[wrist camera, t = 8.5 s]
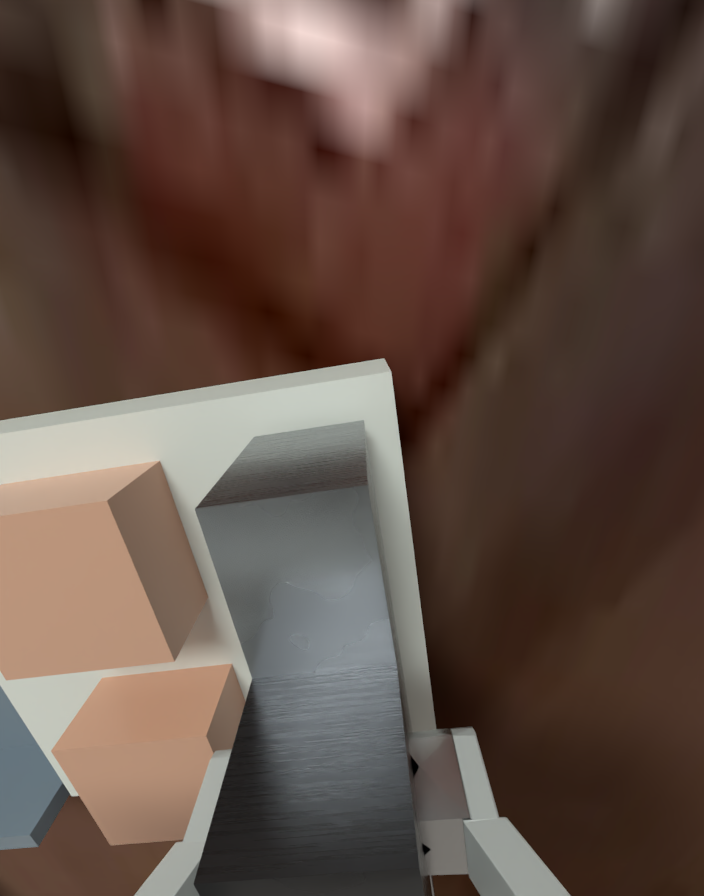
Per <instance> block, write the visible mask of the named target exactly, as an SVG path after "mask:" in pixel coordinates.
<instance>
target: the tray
mask: <svg viewBox="0 0 704 896" xmlns="http://www.w3.org/2000/svg"><path fill="white" fill-rule="evenodd" d="M69 795H70V793H69V791H68V790H67V788H66V787H65V785H64V784H63V782H62V781H61V779H60V777H59V776H58V774H57V773H56V771H55V770H54V768H53V767H52V765H51V764H50V762H49V760H48V759H47V757H46V756H45V754H44V753H43V751H42V750H41V748H40V746H39V745H38V743H37V742H36V740H35V739H34V737H33V736H32V734H31V732H30V731H29V729H28V728H27V726H26V725H25V723H24V722H23V720H22V718H21V717H20V715H19V714H18V712H17V711H16V709H15V708H14V706H13V705H12V703H11V701H10V700H9V698H8V697H7V695H6V694H5V692H4V691H3V689H2V687H1V686H0V850H3V849H16V848H28V847H39V845H40V843H41V842H42V840H43V838H44V837H45V835H46V833H47V832H48V830H49V828H50V826H51V825H52V823H53V821H54V820H55V818H56V816H57V815H58V813H59V811H60V810H61V808H62V806H63V805H64V803H65V801H66V800H67V798H68V796H69Z"/></svg>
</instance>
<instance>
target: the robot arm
mask: <svg viewBox="0 0 704 896" xmlns="http://www.w3.org/2000/svg"><path fill="white" fill-rule="evenodd" d="M408 738H409V746H410V755H411V761H412V767H413V773H414V779H413V780H414V788H415V797H416V805H417V813H418V822H419V828H420V834H421V840H422V843H423V850H424V858H425V863H426V869H427V875H454V874H469V878H470V879H471V881H472V883H473V884H474V886H475V887H476V889H477V891H478V892H479V894H480V896H571V895H570V894H569V893H568V892H567V890H566V889H565V888H564V887H563V885H562V884H561V883H560V882H559V881H558V879H557V878H556V877H555V876H554V874H553V873H552V872H551V871H550V870H549V868H548V867H547V866H546V865H545V863H544V862H543V861H542V860H541V859H540V857H539V856H538V855H537V854H536V852H535V851H534V850H533V849H532V848H531V846H530V845H529V844H528V843H527V841H526V840H525V839H524V838H523V837H522V835H521V834H520V833H519V832H518V830H517V829H516V828H515V827H514V826H513V824H512V823H511V822H510V821H509V819H508V818H507V817H499V815H498V811H497V808H496V804H495V801H494V797H493V793H492V790H491V786H490V783H489V779H488V775H487V772H486V768H485V765H484V761H483V758H482V754H481V750H480V747H479V743H478V740H477V736H476V733H475V731H474V729H473V727H472V726H468V727H459V728H451V729H450V728H444V729H436V730H427V731H418V732H410V733H408ZM231 751H232V749H227V750H218V751H215V752H214V754H213V756H212V757H211V759H210V761H209V764H208V767H207V770H206V773H205V776H204V779H203V782H202V785H201V788H200V791H199V794H198V797H197V800H196V803H195V806H194V809H193V812H192V815H191V818H190V821H189V824H188V827H187V830H186V833H185V836H184V839H183V841H182V842H176V843H175V844H174V846H173V847H172V848H171V849H170V851H169V852H168V853H167V854H166V856H165V857H164V858H163V860H162V861H161V862H160V863H159V865H158V866H157V867H156V868H155V870H154V871H153V872H152V873H151V875H150V876H149V877H148V879H147V880H146V881H145V882H144V884H143V885H142V886H141V887H140V889H139V890H138V891H137V892H136V894H135V895H134V896H200V895H199V894H198V892H197V890H196V888H195V886H194V880H195V877H196V873H197V870H198V866H199V863H200V859H201V856H202V852H203V849H204V845H205V842H206V838H207V835H208V831H209V828H210V824H211V821H212V817H213V814H214V810H215V807H216V803H217V800H218V796H219V793H220V789H221V786H222V782H223V779H224V775H225V772H226V768H227V765H228V761H229V758H230V754H231Z"/></svg>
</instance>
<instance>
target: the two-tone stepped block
mask: <svg viewBox="0 0 704 896" xmlns="http://www.w3.org/2000/svg"><path fill="white" fill-rule="evenodd" d="M195 511H196V514H197V517H198V520H199V523H200V526H201V529H202V532H203V535H204V538H205V541H206V544H207V547H208V550H209V553H210V556H211V559H212V562H213V565H214V567H215V570H216V573H217V576H218V579H219V582H220V585H221V588H222V591H223V594H224V597H225V600H226V603H227V606H228V609H229V612H230V615H231V618H232V621H233V624H234V627H235V630H236V633H237V635H238V638H239V641H240V644H241V647H242V650H243V653H244V656H245V659H246V662H247V665H248V668H249V671H250V674H251V677H252V681H251V684H250V688H249V691H248V695H247V698H246V702H245V705H244V709H243V712H242V716H241V719H240V723H239V726H238V730H237V733H236V737H235V740H234V744H233V747H232V751H231V754H230V758H229V761H228V765H227V768H226V772H225V775H224V779H223V782H222V786H221V789H220V793H219V796H218V800H217V803H216V807H215V810H214V814H213V817H212V821H211V824H210V828H209V831H208V835H207V838H206V842H205V845H204V849H203V852H202V856H201V859H200V863H199V866H198V870H197V873H196V877H195V880H194V886H195V888H196V890H197V892H198V894H199V895H200V896H435V892H434V884H433V877H432V875H427V869H426V863H425V858H424V850H423V843H422V840H421V834H420V828H419V822H418V813H417V805H416V797H415V788H414V780H413V779H414V773H413V767H412V761H411V755H410V746H409V738H408V733H410V732H412V725H411V719H410V713H409V706H408V700H407V693H406V687H405V680H404V674H403V668H402V661H401V655H400V648H399V642H398V636H397V629H396V623H395V616H394V610H393V604H392V597H391V591H390V584H389V578H388V572H387V565H386V559H385V552H384V546H383V540H382V533H381V527H380V520H379V514H378V507H377V501H376V495H375V488H374V482H373V475H372V469H371V463H370V456H369V450H368V443H367V437H366V431H365V424H364V420H361V421H354V422H348V423H341V424H334V425H328V426H321V427H315V428H308V429H301V430H295V431H288V432H282V433H275V434H269V435H262V436H255V437H253V439H252V440H251V441H250V442H249V444H248V445H247V446H246V447H245V448H244V450H243V451H242V452H241V453H240V455H239V456H238V457H237V458H236V459H235V461H234V462H233V463H232V464H231V465H230V467H229V468H228V469H227V470H226V472H225V473H224V474H223V475H222V476H221V478H220V479H219V480H218V481H217V483H216V484H215V485H214V486H213V487H212V489H211V490H210V491H209V492H208V494H207V495H206V496H205V497H204V498H203V500H202V501H201V502H200V503H199V505H198V506H197V507H196V508H195Z"/></svg>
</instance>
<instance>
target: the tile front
mask: <svg viewBox="0 0 704 896" xmlns="http://www.w3.org/2000/svg"><path fill="white" fill-rule="evenodd" d="M207 599H208V595H207V592H206V589H205V586H204V583H203V581H202V578H201V575H200V572H199V569H198V567H197V564H196V561H195V558H194V555H193V553H192V550H191V547H190V544H189V541H188V538H187V536H186V533H185V530H184V527H183V524H182V522H181V519H180V516H179V513H178V510H177V508H176V505H175V502H174V499H173V496H172V493H171V491H170V488H169V485H168V482H167V479H166V477H165V474H164V471H163V468H162V465H161V463H160V461H154V462H147V463H140V464H134V465H127V466H120V467H114V468H107V469H100V470H94V471H87V472H80V473H74V474H67V475H60V476H54V477H47V478H40V479H34V480H27V481H20V482H14V483H7V484H1V485H0V671H1V673H2V675H3V676H4V678H5V679H6V680H15V679H24V678H33V677H42V676H51V675H60V674H69V673H78V672H87V671H96V670H105V669H114V668H123V667H132V666H141V665H149V664H158V663H167V662H175V660H176V658H177V656H178V654H179V653H180V651H181V649H182V647H183V645H184V643H185V641H186V639H187V637H188V635H189V633H190V632H191V630H192V628H193V626H194V624H195V622H196V620H197V618H198V616H199V614H200V612H201V611H202V609H203V607H204V605H205V603H206V601H207Z"/></svg>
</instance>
